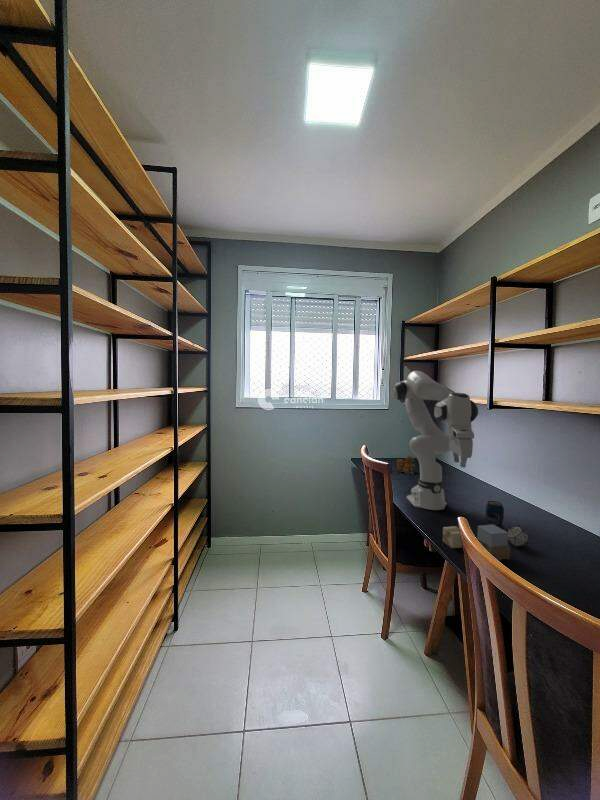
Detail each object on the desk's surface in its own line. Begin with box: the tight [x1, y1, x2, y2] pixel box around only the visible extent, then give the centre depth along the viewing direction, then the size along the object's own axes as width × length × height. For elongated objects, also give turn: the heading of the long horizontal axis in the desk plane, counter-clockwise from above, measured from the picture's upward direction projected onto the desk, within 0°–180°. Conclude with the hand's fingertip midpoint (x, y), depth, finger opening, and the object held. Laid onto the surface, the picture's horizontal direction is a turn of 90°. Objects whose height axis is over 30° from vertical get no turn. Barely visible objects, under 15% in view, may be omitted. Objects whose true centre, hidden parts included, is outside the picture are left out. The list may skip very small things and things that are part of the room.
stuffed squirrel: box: [396, 455, 416, 474], centre depth 237 cm, size 10×14×13 cm
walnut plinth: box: [476, 537, 511, 561], centre depth 120 cm, size 8×8×5 cm
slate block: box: [477, 524, 509, 547], centre depth 120 cm, size 7×7×5 cm
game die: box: [505, 524, 532, 549], centre depth 127 cm, size 9×8×10 cm
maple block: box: [442, 525, 463, 549], centre depth 128 cm, size 6×6×6 cm
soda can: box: [484, 500, 505, 530], centre depth 142 cm, size 7×7×12 cm
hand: (459, 464), depth 131 cm, fingers open, 8 cm apart
